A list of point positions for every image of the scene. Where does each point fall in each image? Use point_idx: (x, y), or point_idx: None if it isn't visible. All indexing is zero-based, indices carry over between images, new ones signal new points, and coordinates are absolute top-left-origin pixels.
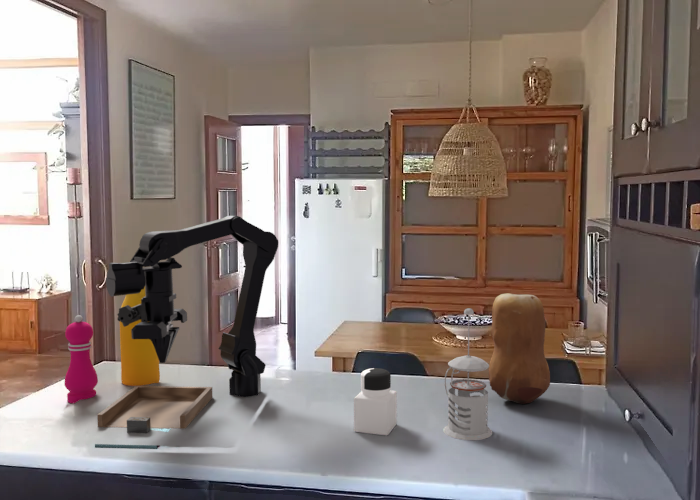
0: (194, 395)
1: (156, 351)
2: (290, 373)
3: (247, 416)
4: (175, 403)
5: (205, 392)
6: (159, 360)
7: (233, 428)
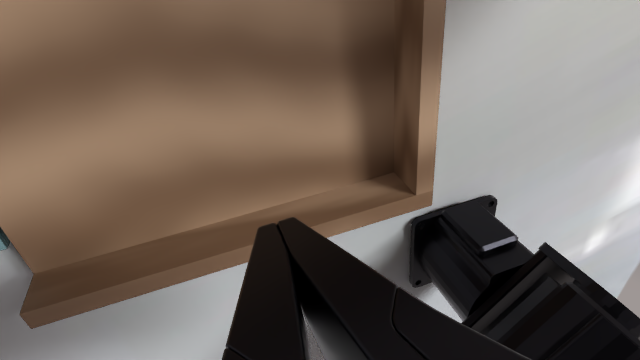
0: (400, 133)
1: (235, 324)
2: (635, 230)
3: None
4: (325, 83)
5: (360, 222)
6: (254, 243)
7: (168, 353)
